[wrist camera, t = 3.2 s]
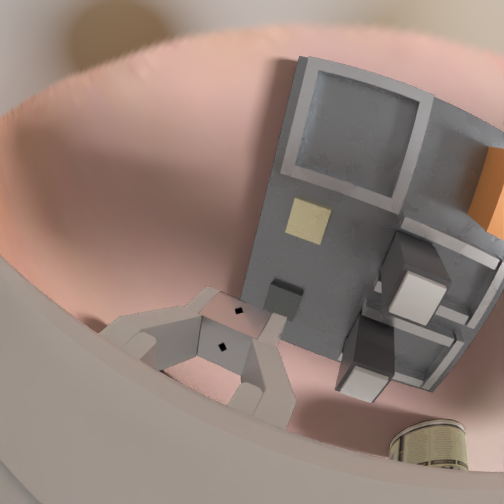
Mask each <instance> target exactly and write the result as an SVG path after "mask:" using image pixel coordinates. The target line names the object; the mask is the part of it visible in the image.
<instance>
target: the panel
mask: <svg viewBox="0 0 504 504" xmlns="http://www.w3.org/2000/svg"><path fill="white" fill-rule="evenodd" d="M489 147H496V148H503V149H504V132H502V131H501V130H499V129H497V128H495V127H494V126H492V125H490V124H488V123H487V122H485V121H483V120H481V119H479V118H477V117H475V116H474V115H472V114H470V113H468V112H466V111H464V110H462V109H460V108H458V107H455V106H453V105H451V104H449V103H447V102H445V101H443V100H440V99H438V98H436V97H434V95H433V94H430V93H428V92H426V91H423V90H421V89H418V88H416V87H413V86H411V85H408V84H405V83H402V82H400V81H397V80H394V79H391V78H388V77H385V76H382V75H379V74H376V73H373V72H370V71H366V70H363V69H359V68H356V67H352V66H348V65H345V64H341V63H337V62H333V61H329V60H324V59H320V58H315V57H310V56H309V58H307V57H302V56H299V59H298V63H297V67H296V71H295V75H294V79H293V83H292V88H291V92H290V96H289V100H288V104H287V108H286V112H285V116H284V121H283V125H282V129H281V133H280V137H279V141H278V145H277V150H276V154H275V158H274V162H273V166H272V170H271V174H270V178H269V183H268V187H267V191H266V195H265V199H264V203H263V207H262V211H261V216H260V220H259V224H258V228H257V232H256V236H255V240H254V245H253V249H252V253H251V257H250V261H249V265H248V269H247V273H246V278H245V282H244V286H243V290H242V294H241V298H240V299H241V300H243V301H245V302H247V303H249V304H252V305H254V306H257V307H259V308H262V309H265V310H267V311H270V312H272V313H276V314H279V315H282V316H285V317H287V321H286V324H285V327H284V329H283V332H282V335H281V337H280V339H281V340H283V341H286V342H288V343H291V344H293V345H296V346H299V347H301V348H304V349H306V350H309V351H311V352H314V353H317V354H319V355H322V356H325V357H327V358H330V359H333V360H335V361H338V362H341V360H342V355H343V350H344V345H345V341H346V340H347V338H348V336H349V334H350V332H351V330H352V328H353V326H354V324H355V322H356V320H357V318H358V317H359V315H360V314H362V315H363V316H366V317H368V318H371V319H374V320H376V321H379V322H382V323H384V324H387V325H390V326H393V327H394V345H395V375H394V377H393V378H392V379H391V380H393V381H396V382H400V383H403V384H406V385H409V386H412V387H416V388H419V389H422V390H426V391H429V392H433V391H434V390H435V389H436V388H437V386H438V385H439V384H440V383H441V382H442V380H443V379H444V378H445V377H446V375H447V374H448V373H449V372H450V370H451V369H452V368H453V367H454V365H455V364H456V363H457V361H458V360H459V359H460V357H461V356H462V355H463V353H464V352H465V350H466V349H467V348H468V346H469V345H470V343H471V342H472V340H473V339H474V337H475V336H476V335H477V333H478V331H479V330H480V328H481V327H482V325H483V324H484V322H485V321H486V319H487V317H488V316H489V314H490V312H491V311H492V309H493V307H494V306H495V304H496V302H497V301H498V299H499V297H500V295H501V293H502V292H503V290H504V241H503V240H502V239H500V238H498V237H496V236H494V235H492V234H490V233H488V232H486V231H485V230H484V229H483V228H482V227H481V226H480V225H479V224H478V223H477V222H476V221H475V220H473V219H472V218H471V217H470V216H469V215H468V214H467V213H468V211H469V208H470V205H471V202H472V200H473V197H474V194H475V191H476V188H477V185H478V182H479V179H480V176H481V173H482V170H483V166H484V163H485V159H486V156H487V152H488V149H489ZM397 231H398V232H401V233H403V234H406V235H408V236H411V237H413V238H415V239H418V240H420V241H423V242H425V243H427V244H430V245H432V246H434V247H435V248H436V250H437V252H438V254H439V256H440V258H441V260H442V262H443V264H444V266H445V268H446V270H447V273H448V275H449V277H450V279H451V281H452V284H451V286H450V288H449V290H448V292H447V294H446V296H445V297H444V299H443V301H442V303H441V304H440V306H439V308H438V310H437V311H436V313H435V315H434V317H433V318H432V320H431V322H430V323H429V325H428V326H427V327H424V326H422V325H419V324H416V323H414V322H411V321H408V320H406V319H403V318H400V317H397V316H395V315H392V314H389V313H387V312H384V311H382V288H381V268H382V266H383V263H384V261H385V259H386V256H387V254H388V252H389V249H390V247H391V244H392V242H393V240H394V237H395V235H396V232H397Z"/></svg>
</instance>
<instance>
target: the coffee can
mask: <svg viewBox="0 0 504 504" xmlns="http://www.w3.org/2000/svg"><path fill="white" fill-rule="evenodd" d="M389 459H390V460H395V461H400V462H405V463H411V464H417V465H423V466H430V467H438V468H446V469H455V470H467V471H468V457H467V446H466V431H465V428H464V427H463V425H462V424H460V423H458V422H456V421H453V420H445V419H438V420H431V421H426V422H422V423H418V424H416V425H413V426H411V427H408V428H406V429H405V430H403V431H401V432H400V433H399V434H397V435H396V436H395V437H394V438H393V440H392V441H391V443H390V454H389Z"/></svg>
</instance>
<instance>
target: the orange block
mask: <svg viewBox="0 0 504 504" xmlns="http://www.w3.org/2000/svg"><path fill="white" fill-rule="evenodd" d="M467 214H468V215H469V216H470V217H471V218H472V219H473V220H475V221H476V222H477V223H478V224H479V225H480V226H481V227H482V228H483V229H484V230H485V231H486V232H488V233H490V234H492V235H494V236H496V237H498V238H500V239H502V240H503V241H504V149H503V148H496V147H489V149H488V152H487V156H486V159H485V163H484V166H483V170H482V173H481V176H480V179H479V182H478V185H477V188H476V191H475V194H474V197H473V200H472V202H471V205H470V208H469V211H468V213H467Z"/></svg>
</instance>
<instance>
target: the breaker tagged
mask: <svg viewBox="0 0 504 504" xmlns="http://www.w3.org/2000/svg"><path fill="white" fill-rule="evenodd" d="M451 284H452V281H451V279H450V277H449V275H448V273H447V270H446V268H445V266H444V264H443V262H442V260H441V258H440V256H439V254H438V252H437V250H436V248H435V247H434V246H432V245H430V244H427V243H425V242H423V241H420V240H418V239H415V238H413V237H411V236H408V235H406V234H403V233H401V232H398V231H397V232H396V235H395V237H394V240H393V242H392V244H391V247H390V249H389V252H388V254H387V256H386V259H385V261H384V263H383V266H382V268H381V288H382V311H384V312H387V313H389V314H392V315H395V316H397V317H400V318H403V319H406V320H408V321H411V322H414V323H416V324H419V325H422V326H424V327H427V326H428V325H429V323H430V322H431V320H432V318H433V317H434V315H435V313H436V311H437V310H438V308H439V306H440V304H441V303H442V301H443V299H444V297H445V296H446V294H447V292H448V290H449V288H450V286H451Z"/></svg>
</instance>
